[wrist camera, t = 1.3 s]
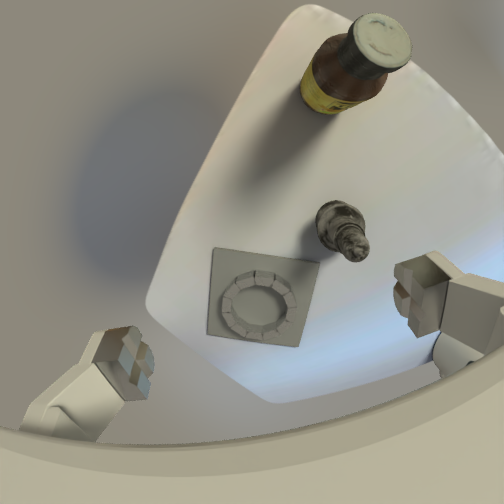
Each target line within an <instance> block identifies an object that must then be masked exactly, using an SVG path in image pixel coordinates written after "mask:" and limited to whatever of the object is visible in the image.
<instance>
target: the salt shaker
mask: <svg viewBox="0 0 504 504" xmlns="http://www.w3.org/2000/svg"><path fill="white" fill-rule="evenodd" d="M316 226H317V232H318V237H319V239H320V241H321V243H322V244H323V245H324V246H325V247H326V248H328V249H329V250H332V251H335V252H340V253H341V254H343V255H344V256H345V258H346V259H348V260H349V261H351V262H360V261H362V260H364V259H365V258H366V257H367V256H368V254H369V250H370V246H369V242H368V240H367V239H366V237H365V221H364V218H363V215H362V214H361V213H360V211H359V210H357V209H356V208H355V207H353V206H351V205H348V204H347V203H345V202H343V201H337V200H335V201H330V202H328V203H326V204H324V205H323V206H322V207H321V208H320V210H319V211H318V213H317V216H316Z"/></svg>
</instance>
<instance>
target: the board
mask: <svg viewBox="0 0 504 504" xmlns="http://www.w3.org/2000/svg"><path fill="white" fill-rule="evenodd" d="M319 266H320V263H319V262H312V261H305V260H299V259H292V258H285V257H278V256H271V255H264V254H258V253H251V252H244V251H237V250H230V249H223V248H217V247H215V248H214V253H213V265H212V277H211V290H210V304H209V319H208V334H209V335H215V336H221V337H227V338H233V339H240V340H247V341H254V342H261V343H268V344H276V345H285V346H293V347H299V343H300V340H301V336H302V332H303V329H304V325H305V321H306V318H307V314H308V310H309V306H310V302H311V298H312V294H313V290H314V286H315V282H316V278H317V274H318V270H319ZM252 270H254V271H255V272H256V270H262V271H269V272H274V274H275V273H276V274H278V275H279V276H281V277H282V278H283V279H285V280H286V281H287V282H289V284H290V285H291V287H292V290H293V292H294V295H295V297H296V302H297V311H296V315H295V319H294V322H293V324H292V325H291V326H290V327H289V328H288V329H287V330H286V331H285V332H284V333H283V334H282V335H281V334H280V336H276V337H273V338H269V339H266V340H264V339H263V340H258V339H251V338H246V336H245V337H243V336H241V335H240V334H238V333H237V332H235V331H234V330H232V329H231V327H229V326H228V324H227V322H226V320H225V318H224V317H223V315H222V302H223V296H224V292H225V290H226V288H227V287H228V285H229V284H230V283H231V282H232V281H233V280H234V278H235V277H237V276H238V275H240V274H243V273H246V272H249V271H252ZM232 305H233V307H234V309H235V311H236V313H237V315H238V316H239V317H240V318H242V319H243V320H245V321H246V322H248V323H250V324H257V325H266V324H269V323H272V322H275V321H277V320H278V319H279V318H280V317H281V316H282V315H283V314H284V313H285V310H286V305H287V304H286V302H285V299H284V297H283V295H281V294H280V293H279V292H277V291H276V290H274V289H273V288H272V287H267V286H261V285H253V286H250V287H247V288H244V289H241V290H240V291H239V292H238V293H237V295H236V296H235V297H234V298H233V303H232Z"/></svg>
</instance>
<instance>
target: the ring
mask: <svg viewBox="0 0 504 504" xmlns="http://www.w3.org/2000/svg"><path fill="white" fill-rule="evenodd" d="M253 285H261V286H267V287H272V288H273V289H274V290H276V291H277V292H279V293H280V294H281V295H283V297H284V299H285V302H286V304H287V305H286V310H285V313H284V314H283V315H282V316H281V317H280V318H279V319H278V320H277V321H275V322H272V323H269V324H266V325H257V324H250V323H248V322H246V321H245V320H243V319H242V318H240V317H239V316H238V315H237V313H236V311H235V309H234V307H233V305H232V303H233V298H234V297H235V296H236V295H237V293H238V292H239V291H240V290H241V289H244V288H247V287H250V286H253ZM296 311H297V302H296V297H295V295H294V292H293V290H292V287H291V285H290V284H289V282H287V281H286V280H285V279H283V278H282V277H281V276H279V275H278V274H276V273H275V274H274V272H269V271H262V270H256V272H255V271H254V270H252V271H249V272H246V273H243V274H240V275H238V276H237V277H235V278H234V280H233V281H232V282H231V283H230V284H229V285H228V287H227V288H226V290H225V292H224V296H223V302H222V315H223V317H224V318H225V320H226V322H227V324H228V326H229V327H231V329H232V330H234V331H235V332H237V333H238V334H240V335H241V336H243V337H245V336H246V338H251V339H258V340H263V339H264V340H266V339H269V338H273V337H276V336H280V334H281V335H282V334H283V333H284V332H285V331H286V330H287V329H288V328H289V327H290V326H291V325H292V324H293V322H294V319H295V315H296Z"/></svg>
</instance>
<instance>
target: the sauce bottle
mask: <svg viewBox="0 0 504 504" xmlns="http://www.w3.org/2000/svg"><path fill="white" fill-rule="evenodd" d="M411 52H412V43H411V40H410V38H409V36H408V34H407V33H406V31H405V29H404V28H403V27H402V26H401V25H400V24H399V23H398V22H396V21H395V20H394V19H392V18H390V17H388V16H385V15H382V14H378V13H368V14H365V15H362V16H361V17H359V18H358V19H357V20H356V21H355V22H354V23H352V25H351V26H350V28H349V30H348V33H344V34H338V35H335V36H332V37H330V38H328V39H327V40H326V41H325V42H324V43H323V44H322V45H321V47H320V48H319V49H318V50H317V52H316V53H315V55H314V56H313V58H312V60H311V62H310V64H309V66H308V67H307V69H306V71H305V73H304V75H303V77H302V79H301V86H300V94H301V96H302V98H303V100H304V102H305V104H306V105H307V106H308V107H309V108H311V109H312V110H313V111H315V112H318V113H322V114H336V113H340V112H342V111H344V110H347V109H348V108H351V107H354V106H356V105H358V104H360V103H362V102H364V101H367V100H369V99H371V98H373V97H374V96H376V95H377V94H378V93H379V92H380V91H381V89H382V87H383V86H384V84H385V82H386V80H387V76H388V73H392V72H394V71H396V70H398V69H400V68H401V67H403V66H405V65H406V64H407V63H408V61H409V60H410V57H411Z"/></svg>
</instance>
